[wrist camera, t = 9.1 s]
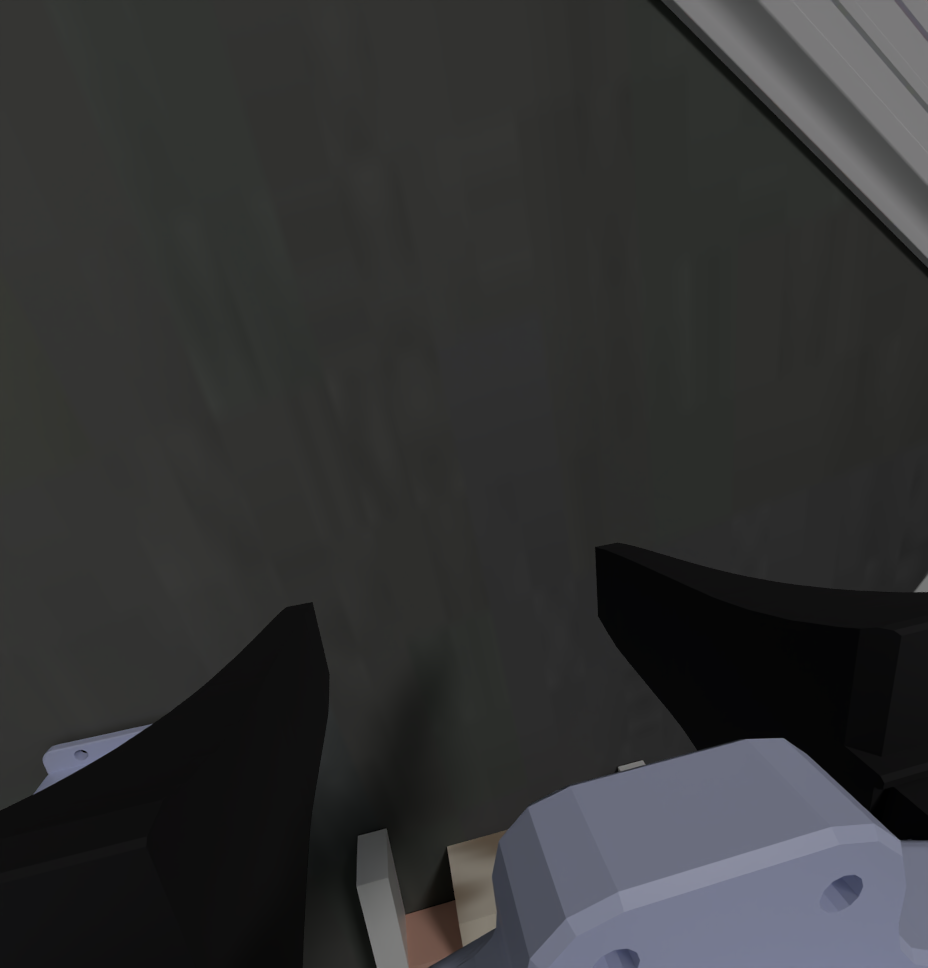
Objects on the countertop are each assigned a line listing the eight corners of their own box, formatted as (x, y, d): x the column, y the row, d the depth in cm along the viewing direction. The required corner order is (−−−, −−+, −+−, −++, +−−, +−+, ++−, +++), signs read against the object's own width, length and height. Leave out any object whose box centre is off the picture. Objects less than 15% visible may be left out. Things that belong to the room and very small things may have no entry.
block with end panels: (383, 940, 27) (384, 996, 25) (357, 836, 25) (356, 886, 23) (644, 862, 30) (667, 907, 27) (642, 760, 27) (668, 799, 25)
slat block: (455, 894, 28) (468, 979, 24) (446, 842, 27) (458, 924, 23) (617, 847, 29) (653, 921, 26) (615, 796, 28) (653, 865, 24)
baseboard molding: (969, 368, 25) (1128, 149, 24) (1043, 370, 22) (1229, 122, 21) (465, -107, 16) (663, -516, 15) (484, -199, 14) (731, -717, 12)
